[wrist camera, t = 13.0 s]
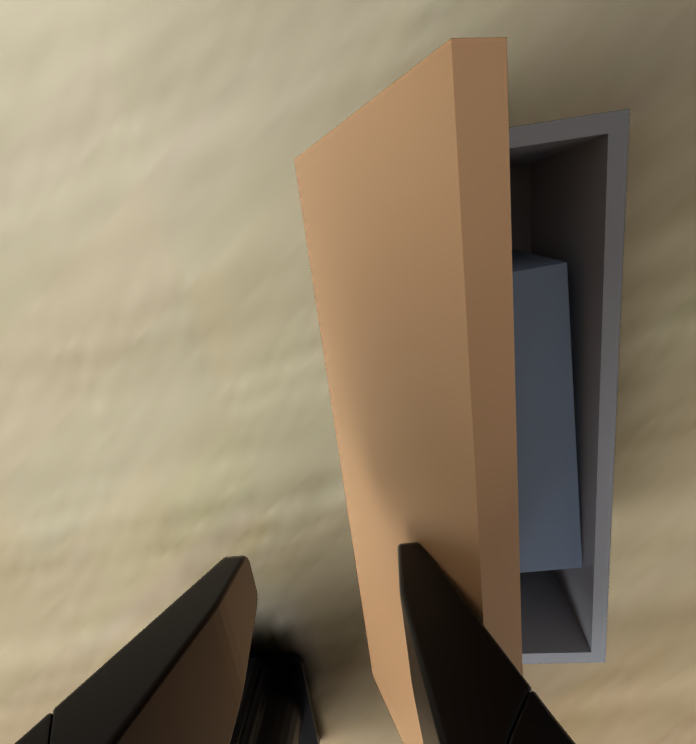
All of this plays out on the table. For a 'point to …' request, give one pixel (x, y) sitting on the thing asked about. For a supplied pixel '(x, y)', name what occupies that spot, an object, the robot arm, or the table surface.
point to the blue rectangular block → (545, 416)
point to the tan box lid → (422, 341)
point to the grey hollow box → (577, 352)
